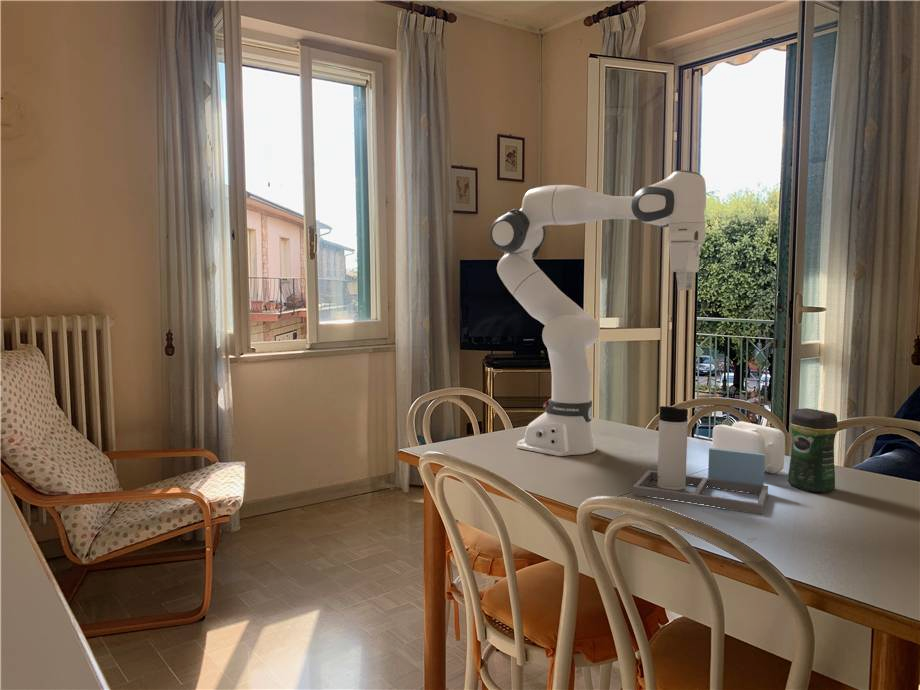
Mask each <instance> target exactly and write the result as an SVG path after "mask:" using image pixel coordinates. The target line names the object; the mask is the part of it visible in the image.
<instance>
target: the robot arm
mask: <svg viewBox="0 0 920 690" xmlns="http://www.w3.org/2000/svg"><path fill="white" fill-rule="evenodd" d="M706 208H707V188H706V181H705V178H704V177H703V175H702V174H700V173H698V172H696V171H691V170H681V169H680V170H676V171H673V172H672V173H671V174H670V175H669V176H667V177H666V178H664V179H662V180H661V181H658V182H655V183H653V184H651V185H648V186H644V187H642V188H640V189H639V190H638V191H636V192H635V194H634V195H633V196H627V195H626V196H625V195H622V196H620V195H619V196H615V195H608V194H605V193H602V192H598V191H595V190H593V189H590V188H586V187H583V186H578V185H573V184H572V185H571V184H553V185H552V184H550V185H542V186H538V187H534V188H530V189H529V190H527V192H525V194H524V196H523V198H522V203H521V208H520V209H517V208H513V209H511V210H509V211H507V213H505V214H503V215H501V216H500V217H498V218H497V219H495V220H494V221H493V222H492V224H491V226H490V229H489V239H490V242H491V243H492V245H493V247H495V248H496V249H497V250H499V251H501V252H503V253H504V254H503V256H502V257H501V258H500V259H499V260H498V262H497V266H496V272H497V274H498V277H499V278H500V280H501V281H502V283H503V285H504V286H505V288H506V289H507V290H508V292H509V293H510V294H511V295H512V296H513V297H514V299H515V300H516V301H517V302H518V303H519V304H520V305H521V306H522V307H523V309H524V310H525V311H526V312H527V313H528V315H530V316H531V317H532V318H534V319H535V320H537V321H539V322H540V323H541V324H542V325H544V327H543V328H542V333H541V337H542V338H541V339H542V342H543V344H544V346H545V347H546V348H547V354H548V359H549V363H550V370H551V398H549V399H548V400H547V401H545V402H544V403H543V408H544V409H545V412H543V413H542V414H540V415H539V416H537V417H536V418H535V419H534V420H532V421H531V422H529V423H528V425H527V426H526V429H525V432H524V433H525V434H524V438H522V439H520V440H518V441H517V442H516V448H517V449H520V450H525V451H532V452H536V453H541V454H547V455H553V456H557V457H564V456H565V457H566V456H571V455H574V456H575V455H586V454H590V453H593V452H595V451H596V445H595V442H594V436H593V430H592V420H593V401H592V400H591V398H592V396H591V395H592V392H591V391H592V374H591V370H590V368H589V365H588V359H587V354H586V353H587V352H586V350H587V349H589V348H591V347H592V346H593V345H594V344H595V343H596V342H597V341H598V338H599V336H600V332H601V330H600V329H601V328H600V324H599V323H598V320H596V318H595V317H593V316H592V315H591V314H589V313H588V312H586V310H584V309H583V308H582V307H580V306H579V305H578V304H577V303H576V302H575V301H574V300H572V299H571V298H570V297H569V296H567V295H566V294H565V293H564V292H563V291H561V289H560V288H558V286H557V285H556V283H555V284H554V282H553V281H552V280H551V279H550V277H548V276H547V274H545V272H544V271H543V270H542V269H540V267H539V266H538V265H537V264H536V263H535V261H534V259H533V258H535V257H537V255H538V254H539V251H540V249H541V248H542V247H543V245H544V243H545V242H546V239H547V235H548V234H547V233H548V232H547V228H546V226H550V225H551V226H572V225H579V224H585V223H586V224H587V223H590V222H591V223H592V222H598V221H603V220H634V221H635V220H636V221H641V222H642V223H644V224H649V225H652V226H656V227H658V228H668V233H667V239H666V240H667V243H669V264H670V270H671V272H672V273H676V274H675V277H676V282H677V283H676V284H677V291H679V292H680V291H692V290H693V283H694V278H695V273H699V269H700V243H705V242H706V241H705V240H706V219H705V211H706Z"/></svg>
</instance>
